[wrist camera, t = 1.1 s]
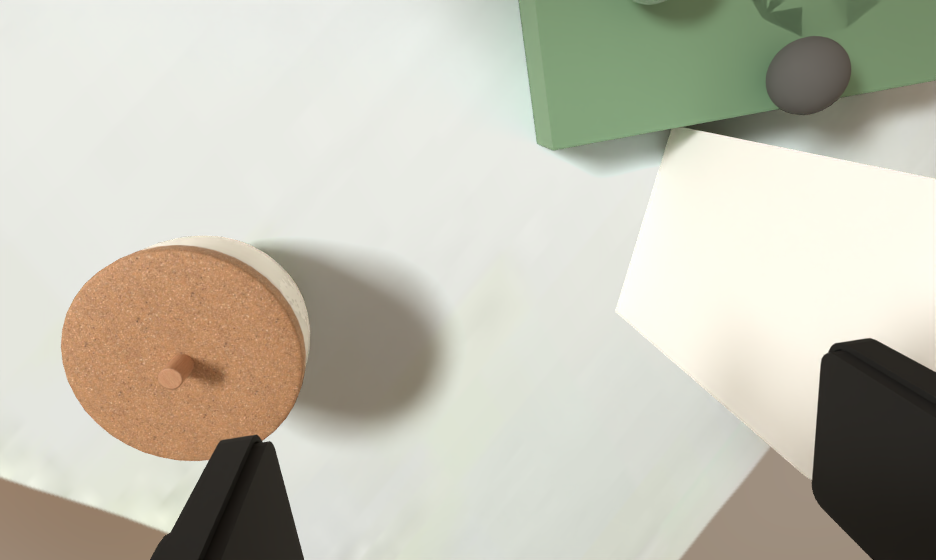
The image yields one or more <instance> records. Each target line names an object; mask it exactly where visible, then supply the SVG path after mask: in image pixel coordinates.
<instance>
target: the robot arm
mask: <svg viewBox="0 0 936 560" xmlns="http://www.w3.org/2000/svg"><path fill="white" fill-rule="evenodd" d="M812 490H813V494H814V496H815V499H816V500H817V502H818V504H819V505H820V506H821V508H822V509H823V510H824V511H825V512H826V513H827V514H828V515H829V516H830V517H831V518H832V519H833V520H834V521H835V522H836V523H837V524H838V525H839V526H840V527H841V528H842V529H843V530H844V531H845V532H846V533H847V534H848V535H849V536H850V537H851V538H852V539H853V540H854V541H855V542H856V543H857V544H858V545H859V546H860V547H861V548H862V549H863V550H864V551H865V552H866V553H867V554H868V555H869V556H870V557H871V558H872V559H873V560H936V372H935V371H933V370H931V369H929V368H927V367H925V366H923V365H922V364H920V363H918V362H916V361H914V360H912V359H911V358H909V357H907V356H905V355H903V354H901V353H899V352H898V351H896V350H894V349H892V348H890V347H888V346H886V345H885V344H883V343H881V342H879V341H877V340H875V339H872V338H865V339H859V340H852V341H846V342H840V343H835V344H833V345H832V346H831V347H830V349H829V351H828V353H826V354H825V355H823V357H822V359H821V365H820V379H819V392H818V406H817V419H816V433H815V446H814V460H813V473H812ZM150 560H304V557H303V553H302V550H301V546H300V542H299V538H298V534H297V531H296V527H295V523H294V519H293V515H292V512H291V508H290V504H289V500H288V496H287V493H286V489H285V485H284V481H283V477H282V474H281V470H280V466H279V462H278V458H277V455H276V451H275V448H274V445H273V444H272V442H270V441H269V442H262V440H261V438H260V437H259V436H258V435H257V434H256V435H250V436H244V437H237V438H231V439H225V440H221V441H220V442H219V443H218V445H217V446H216V448H215V450H214V452H213V454H212V456H211V458H210V460H209V461H208V463H207V465H206V467H205V469H204V471H203V473H202V475H201V476H200V478H199V480H198V482H197V484H196V486H195V488H194V490H193V492H192V493H191V495H190V497H189V499H188V501H187V503H186V505H185V507H184V508H183V510H182V512H181V514H180V516H179V518H178V520H177V522H176V523H175V525H174V527H173V529H172V531H171V533H169V534H167V535H165V536H164V537H163V539H162V540H161V542H160V543H159V544H158V546H157V548H156V550H155V552H154V553H153V555H152V557H151V559H150Z"/></svg>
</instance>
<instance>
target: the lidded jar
mask: <svg viewBox="0 0 936 560" xmlns="http://www.w3.org/2000/svg"><path fill="white" fill-rule="evenodd" d="M309 347H310V325H309V318H308V313H307V309H306V305H305V302H304V299H303V296H302V295H301V293H300V291H299V289H298V287H297V285H296V283H295V282H294V281H293V279H292V278H291V276H290V275H289V274H288V272H287V271H286V270H285V269H284V268H283V267H282V266H281V265H280V264H279V263H278V262H276V261H275V260H274V259H272V258H271V257H270V256H268V255H267V254H266V253H264V252H262V251H261V250H259V249H257V248H255V247H253V246H251V245H249V244H246V243H243V242H241V241H238V240H234V239H230V238H225V237H219V236H188V237H181V238H176V239H172V240H168V241H164V242H160V243H157V244H155V245H152V246H150V247H147V248H145V249H143V250H140V251H137V252H135V253H132V254H130V255H127V256H125V257H123V258H120V259H118V260H117V261H115V262H113V263H112V264H110V265H108V266H107V267H105V268H104V269H102V270H100V271H99V272H98V273H96V274H95V275H94V276H93V277H92V278H91V279H90V280H89V281H88V282H86V283H85V285H84V286H83V287H82V288H81V290H80V291H79V292H78V294H77V295H76V296H75V298H74V300H73V302H72V304H71V306H70V308H69V310H68V312H67V314H66V318H65V321H64V325H63V329H62V340H61V351H62V360H63V365H64V369H65V372H66V376H67V379H68V382H69V384H70V386H71V388H72V390H73V392H74V394H75V396H76V398H77V399H78V401H79V402H80V404H81V405H82V407H83V408H84V410H85V411H86V412H87V413H88V414H89V415H90V416H91V417H92V418H93V419H94V420H95V421H96V422H97V424H99V425H100V426H101V427H102V428H103V429H105V430H106V431H107V432H108V433H109V434H111V435H112V436H114V437H115V438H117V439H119V440H120V441H122V442H124V443H125V444H127V445H129V446H131V447H134V448H136V449H138V450H140V451H142V452H145V453H148V454H152V455H155V456H159V457H163V458H169V459H174V460H184V461H202V460H210V458H211V456H212V454H213V452H214V450H215V448H216V446H217V445H218V443H219V442H220V441H221V440H225V439H231V438H237V437H244V436H250V435H256V434H257V435H258V436H259V437H260V438H261V440H262V441H263V440H264V439H265V438H267V437H268V436H269V435H270V434H272V433H273V432H274V431H275V430H276V429H277V428H278V427H279V426H280V425H281V423H282V422H283V421H284V420H285V419H286V417H287V416H288V414H289V413H290V411H291V409H292V408H293V406H294V404H295V402H296V399H297V397H298V394H299V392H300V389H301V387H302V383H303V378H304V373H305V368H306V364H307V359H308V354H309Z"/></svg>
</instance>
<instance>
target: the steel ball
mask: <svg viewBox="0 0 936 560" xmlns="http://www.w3.org/2000/svg"><path fill="white" fill-rule="evenodd" d="M632 1H633V2H636V3H639V4H644V5H652V4H658V3H662V2H664V1H667V0H632Z"/></svg>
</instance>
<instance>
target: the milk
mask: <svg viewBox="0 0 936 560" xmlns="http://www.w3.org/2000/svg"><path fill="white" fill-rule="evenodd" d="M615 312H616V313H618V314H619V315H620V316H621V317H622V318H623V319H624V320H626V321H627V322H628V323H629V324H630V325H631V326H633V327H634V328H635V329H636V330H637V331H638V332H639V333H641V334H642V335H643V336H644V337H645V338H646V339H647V340H649V341H650V342H651V343H652V344H653V345H654V346H656V347H657V348H658V349H659V350H660V351H661V352H662V353H664V354H665V355H666V356H667V357H668V358H669V359H671V360H672V361H673V362H674V363H675V364H676V365H677V366H679V367H680V368H681V369H682V370H683V371H684V372H686V373H687V374H688V375H689V376H690V377H691V378H692V379H694V380H695V381H696V382H697V383H698V384H699V385H700V386H702V387H703V388H704V389H705V390H706V391H707V392H709V393H710V394H711V395H712V396H713V397H714V398H715V399H717V400H718V401H719V402H720V403H721V404H722V405H724V406H725V407H726V408H727V409H728V410H729V411H730V412H732V413H733V414H734V415H735V416H736V417H737V418H739V419H740V420H741V421H742V422H743V423H744V424H745V425H747V426H748V427H749V428H750V429H751V430H752V431H753V432H755V433H756V434H757V435H758V436H759V437H760V438H762V439H763V440H764V441H765V442H766V443H767V444H768V445H770V446H771V447H772V448H773V449H774V450H776V451H777V452H778V453H779V454H780V455H781V456H782V457H783V458H785V459H786V460H787V461H788V462H789V463H790V464H792V465H793V466H794V467H795V468H796V469H797V470H799V471H800V472H801V473H802V474H803V475H804V476H806V477H807V478H809V479H811V480H812V473H813V460H814V446H815V433H816V419H817V406H818V392H819V379H820V365H821V359H822V357H823V355H825V354H826V353H828V351H829V349H830V347H831V346H832V345H833V344H835V343H840V342H846V341H852V340H859V339H865V338H872V339H875V340H877V341H879V342H881V343H883V344H885V345H886V346H888V347H890V348H892V349H894V350H896V351H898V352H899V353H901V354H903V355H905V356H907V357H909V358H911V359H912V360H914V361H916V362H918V363H920V364H922V365H923V366H925V367H927V368H929V369H931V370H933V371H935V372H936V179H935V178H930V177H925V176H920V175H915V174H910V173H905V172H900V171H895V170H890V169H885V168H881V167H876V166H871V165H866V164H861V163H856V162H851V161H846V160H841V159H836V158H831V157H826V156H822V155H817V154H812V153H807V152H802V151H797V150H792V149H787V148H782V147H777V146H772V145H768V144H763V143H758V142H753V141H748V140H743V139H738V138H733V137H728V136H723V135H718V134H714V133H709V132H704V131H699V130H694V129H689V128H684V127H678V128H673V129H671V132H670V135H669V138H668V142H667V145H666V148H665V151H664V155H663V158H662V161H661V164H660V168H659V171H658V174H657V177H656V180H655V184H654V187H653V190H652V193H651V197H650V200H649V203H648V206H647V210H646V213H645V216H644V219H643V223H642V226H641V229H640V232H639V236H638V239H637V242H636V245H635V249H634V252H633V255H632V258H631V262H630V265H629V268H628V271H627V275H626V278H625V281H624V284H623V288H622V291H621V294H620V297H619V301H618V304H617V307H616V310H615Z"/></svg>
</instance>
